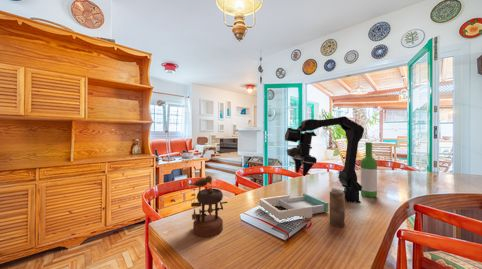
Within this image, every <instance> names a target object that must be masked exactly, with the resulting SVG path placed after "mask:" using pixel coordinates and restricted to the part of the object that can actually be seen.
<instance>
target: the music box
mask: <svg viewBox="0 0 482 269" xmlns="http://www.w3.org/2000/svg"><path fill="white" fill-rule="evenodd" d="M212 181H213V177H212V176H210V175H207V176H206V177H202V178H199V179H197V180H196V181H194V182H192V183H191V182H190V183H188V186H189V187H190V186H191V187H192V186H194V188H193V190H194V198H193V202H191V203H190V208H193V207H194V209H193V213H192V214H191V220H192V221H193V222H192V223H193V225H192V226H193V231H192V232H193V234H194V236H196V237H199V238H204V239H207V238H208V239H209V238H214V237H217V236H219V235H220V234H221V233H222V232H223V228H224V225H223V224H224V223H223V222H224V221H223V218H222V217H220V215H219V212H218V211H221V210H222V211H223V210H224V207H223V204H228V201H222V200H223V197H224V196H223V195H224V194H223V192H222V190H221V189H218V188H213V187H212V186H208V188H204V189H201V187H205V186H207V185H208V184H210V185H213V183H212ZM196 187H198V192H197V195H195V194H196V192H195V191H196ZM195 196H196V198H195ZM195 200H197V201H196V202H195ZM219 205H220V207H219ZM206 206H208V208H207V209H205V208H206ZM213 206H214V208H213ZM195 207H201V208H199V210H198V213H196V208H195ZM213 212H214V214H212V213H213ZM207 213H208V214H207Z"/></svg>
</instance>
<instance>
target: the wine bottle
mask: <svg viewBox="0 0 482 269" xmlns="http://www.w3.org/2000/svg"><path fill="white" fill-rule="evenodd" d="M360 185H361V186H362V190H361V191H360V195H361V196H363V197H366V198H376V197H377V196H378V162H377V160H376V159H375V158H374V157H373V143H372V142H367V141H366V142H365V156H364V157H363V158H361V160H360Z"/></svg>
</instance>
